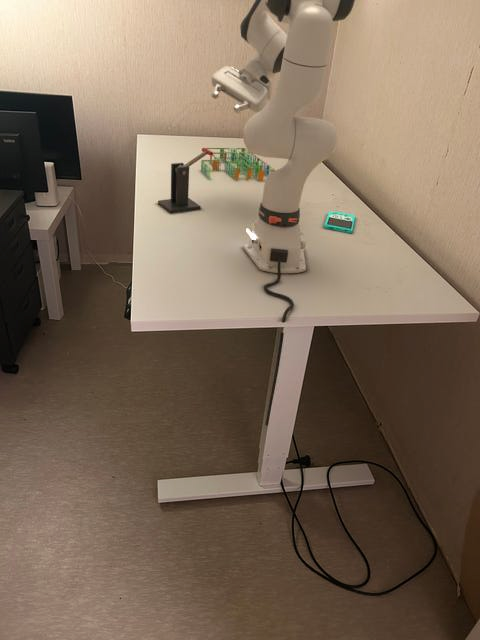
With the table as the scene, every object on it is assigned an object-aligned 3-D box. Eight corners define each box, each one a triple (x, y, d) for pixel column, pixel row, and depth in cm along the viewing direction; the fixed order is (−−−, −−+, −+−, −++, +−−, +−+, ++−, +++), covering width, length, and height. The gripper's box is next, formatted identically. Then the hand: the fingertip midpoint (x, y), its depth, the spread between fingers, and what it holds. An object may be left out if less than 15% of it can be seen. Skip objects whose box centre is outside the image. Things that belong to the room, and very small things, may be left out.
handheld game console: (355, 218, 175) (356, 214, 174) (352, 233, 162) (353, 230, 161) (328, 213, 176) (329, 209, 176) (323, 228, 163) (324, 224, 162)
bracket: (187, 199, 173) (188, 159, 165) (200, 209, 167) (202, 168, 159) (157, 203, 167) (157, 162, 159) (170, 213, 161) (171, 170, 152)
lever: (206, 151, 165) (203, 145, 163) (214, 155, 161) (211, 149, 160) (174, 173, 162) (171, 167, 160) (182, 177, 159) (179, 172, 157)
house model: (275, 180, 204) (276, 169, 201) (212, 182, 194) (212, 170, 191) (245, 157, 230) (246, 148, 228) (188, 158, 220) (188, 147, 217)
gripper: (227, 56, 153) (199, 80, 149) (275, 85, 148) (248, 111, 144) (227, 72, 159) (201, 96, 155) (274, 100, 154) (248, 126, 150)
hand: (224, 103), depth 150 cm, fingers open, 8 cm apart
